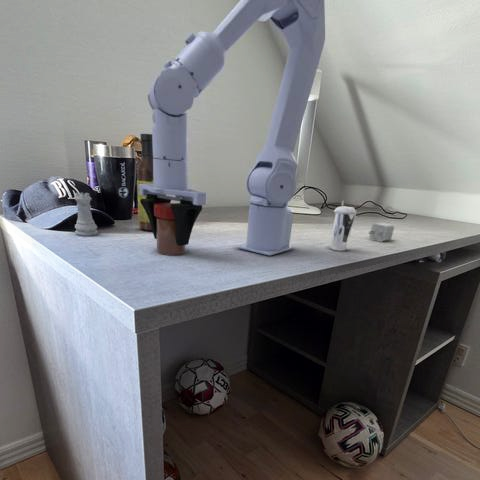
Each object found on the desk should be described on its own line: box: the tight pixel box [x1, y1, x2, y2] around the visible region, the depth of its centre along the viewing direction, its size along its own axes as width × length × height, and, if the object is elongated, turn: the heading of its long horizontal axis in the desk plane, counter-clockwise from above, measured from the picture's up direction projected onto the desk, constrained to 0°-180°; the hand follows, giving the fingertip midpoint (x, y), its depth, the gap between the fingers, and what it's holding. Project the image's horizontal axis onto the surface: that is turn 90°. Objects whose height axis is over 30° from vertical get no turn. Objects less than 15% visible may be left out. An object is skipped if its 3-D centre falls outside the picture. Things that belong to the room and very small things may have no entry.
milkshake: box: [330, 200, 357, 252], centre depth 75 cm, size 5×5×10 cm
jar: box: [156, 217, 187, 256], centre depth 62 cm, size 5×5×8 cm
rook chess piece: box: [73, 192, 99, 237], centre depth 70 cm, size 4×4×8 cm
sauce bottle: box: [136, 133, 167, 232], centre depth 77 cm, size 7×6×20 cm
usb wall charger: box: [368, 222, 395, 242], centre depth 89 cm, size 4×7×4 cm, turn 132°
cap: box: [154, 202, 175, 219], centre depth 61 cm, size 6×6×2 cm
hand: (171, 241), depth 63 cm, fingers closed on cap, 5 cm apart
